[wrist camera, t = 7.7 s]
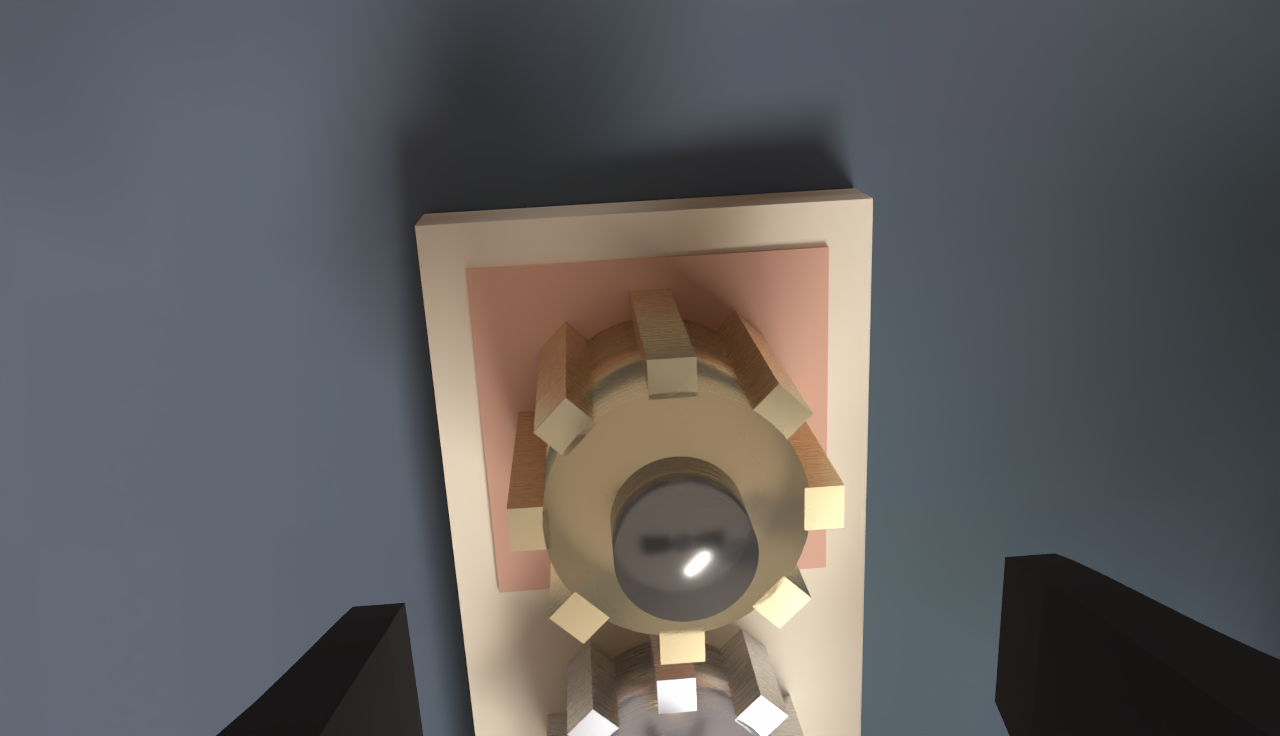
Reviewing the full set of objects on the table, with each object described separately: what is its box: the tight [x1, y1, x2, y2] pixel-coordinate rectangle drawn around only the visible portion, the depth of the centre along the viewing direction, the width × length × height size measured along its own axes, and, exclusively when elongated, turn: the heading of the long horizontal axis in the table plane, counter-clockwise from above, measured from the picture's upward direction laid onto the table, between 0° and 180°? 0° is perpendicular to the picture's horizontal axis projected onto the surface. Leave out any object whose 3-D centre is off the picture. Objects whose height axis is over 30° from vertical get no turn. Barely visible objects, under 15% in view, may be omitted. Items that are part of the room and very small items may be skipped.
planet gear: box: [506, 288, 845, 665], centre depth 17 cm, size 5×5×5 cm
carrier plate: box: [415, 188, 873, 736], centre depth 21 cm, size 8×13×1 cm, turn 3°
